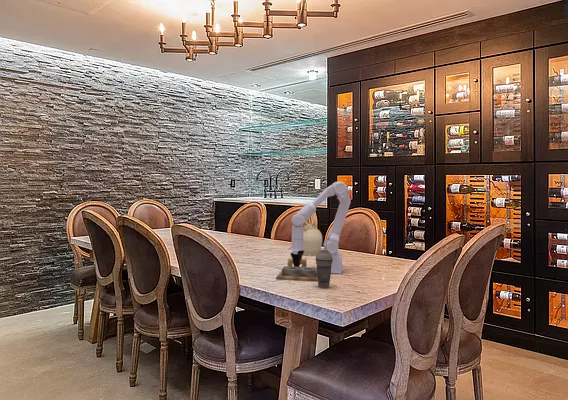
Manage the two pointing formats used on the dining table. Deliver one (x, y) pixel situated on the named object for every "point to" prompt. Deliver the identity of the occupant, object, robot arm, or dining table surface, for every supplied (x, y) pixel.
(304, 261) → the pine wood offcut
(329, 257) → the beverage cup
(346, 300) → the dining table surface
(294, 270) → the rail board
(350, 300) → the dining table surface
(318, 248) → the jug
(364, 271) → the dining table surface
